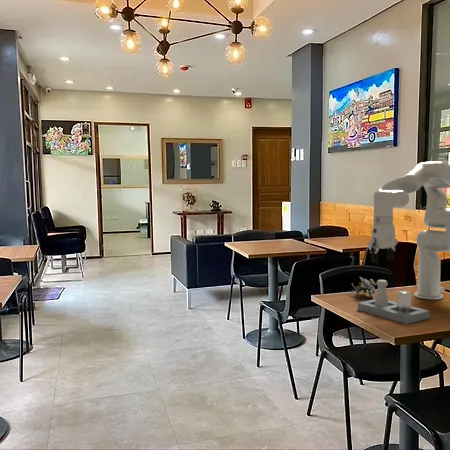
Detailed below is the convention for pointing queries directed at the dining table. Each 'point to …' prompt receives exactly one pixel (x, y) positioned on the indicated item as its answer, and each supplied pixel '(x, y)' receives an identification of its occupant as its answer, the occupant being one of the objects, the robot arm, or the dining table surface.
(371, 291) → the toy creature figurine
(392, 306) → the hole plate
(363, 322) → the dining table surface
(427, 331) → the dining table surface
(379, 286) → the salt shaker
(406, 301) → the steel pin
